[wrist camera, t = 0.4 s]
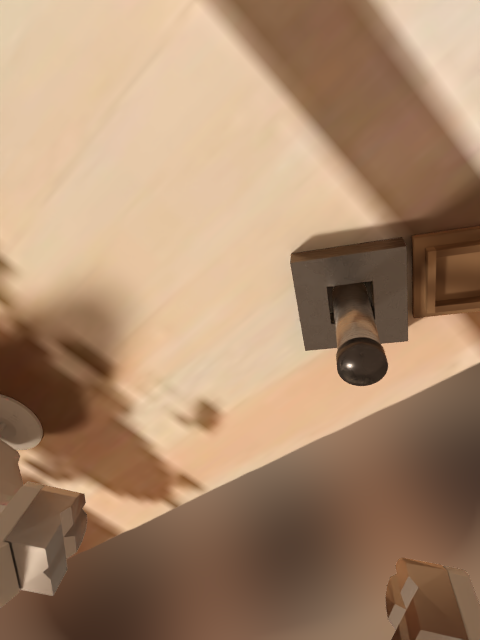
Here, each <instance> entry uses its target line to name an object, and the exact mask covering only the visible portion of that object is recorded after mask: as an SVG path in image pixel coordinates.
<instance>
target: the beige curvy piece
mask: <svg viewBox="0 0 480 640" xmlns="http://www.w3.org/2000/svg"><path fill="white" fill-rule="evenodd" d="M42 436H43V429H42V426H41V423H40V421H39V420H38V418H37V417H36V416H35V414H34V413H33V412H32V411H31V410H30V409H28V408H27V407H26V406H25V405H23V404H22V403H20V402H18V401H16V400H14V399H12V398H10V397H7V396H5V395H1V394H0V514H1V512H2V511H3V510H4V508H5V507H6V506H7V504H8V503H9V502H10V501H11V499H12V498H13V497H14V495H15V494H16V493H17V492H18V490H19V489H20V488H21V487H22V486H23V482H22V478H21V474H20V470H19V466H18V461H19V458H20V455H19V453H18V452H17V451H16V450H27V449H31V448H33V447H35V446H36V445H37V444H38V443H39V442H40V441H41V439H42Z"/></svg>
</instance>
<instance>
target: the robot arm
mask: <svg viewBox="0 0 480 640" xmlns="http://www.w3.org/2000/svg"><path fill="white" fill-rule="evenodd" d="M85 503H86V502H85V495H84V494H82V493H78V492H73V491H69V490H64V489H60V488H55V487H51V486H47V485H42V484H37V483H32V482H27V483H26V484H24V485H23V486H22V487H21V488H20V489H19V490H18V492H17V493H16V494H15V495H14V497H13V498H12V499H11V501H10V502H9V503H8V504H7V506H6V507H5V508H4V510H3V511H2V512H1V514H0V608H1V607H2V606H4V605H5V604H6V603H7V602H8V601H10V600H11V599H12V598H13V597H14V596H16V595H17V594H18V593H19V592H20V590H26V591H31V592H36V593H41V594H47V595H52V596H53V595H54V593H55V592H56V590H57V588H58V586H59V584H60V582H61V580H62V579H63V577H64V575H65V573H66V571H67V562H66V559H67V558H69V557H70V556H72V555H73V554H75V553H76V552H77V550H78V548H79V546H80V544H81V542H82V540H83V537H84V534H85V531H86V526H87V514H86V513H85V512H84V511H83V509H82V508H83V506H84V505H85ZM395 566H396V572H397V574H395V575H393V576H391V577H390V579H389V581H388V584H387V589H386V610H387V616H388V620H389V621H390V623H391V624H392V626H393V627H394V628H395V630H396V631H395V633H394V635H393V637H392V639H391V640H480V604H479V601H478V598H477V596H476V593H475V590H474V587H473V585H472V582H471V579H470V576H469V575H468V573H467V572H466V571H465V570H463V569H458V568H452V567H446V566H442V565H440V564H435V563H429V562H423V561H419V560H413V559H408V558H400V559H398V561H397V563H396V565H395Z"/></svg>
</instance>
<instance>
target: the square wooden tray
mask: <svg viewBox="0 0 480 640" xmlns="http://www.w3.org/2000/svg"><path fill="white" fill-rule="evenodd" d="M476 311H480V226H474V227H467V228H461V229H454V230H447V231H441V232H434V233H427V234H420V235H414V236H412V313H413V317H414V318H420V317H429V316H438V315H448V314H457V313H467V312H476Z"/></svg>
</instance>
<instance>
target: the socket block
mask: <svg viewBox="0 0 480 640" xmlns="http://www.w3.org/2000/svg"><path fill="white" fill-rule="evenodd" d="M290 264H291V270H292V276H293V282H294V288H295V293H296V299H297V305H298V311H299V317H300V322H301V328H302V334H303V340H304V346H305V351H308V350H318V349H329V348H337V338H336V328H335V318H334V313H330V308H329V300H328V292H327V287H330V286H337V285H345V284H353V283H361V282H369V281H371V292H372V307H373V308H372V312H373V316H374V320H375V324H376V328H377V332H378V336H379V340H380V344H382V343H393V342H404V341H408V307H407V246H406V244H405V242H404V240H403V238H402V237H400V238H394V239H387V240H380V241H374V242H367V243H360V244H353V245H347V246H340V247H333V248H327V249H320V250H313V251H307V252H300V253H293V254H291V261H290Z"/></svg>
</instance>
